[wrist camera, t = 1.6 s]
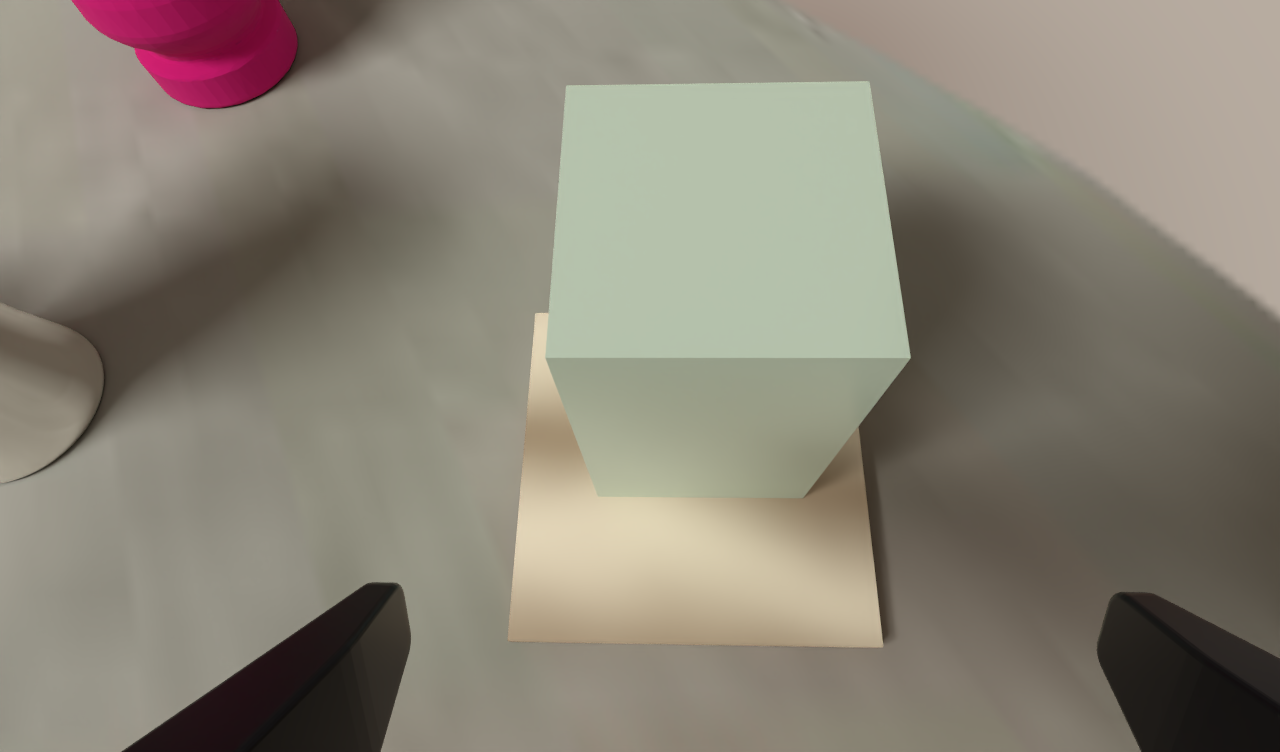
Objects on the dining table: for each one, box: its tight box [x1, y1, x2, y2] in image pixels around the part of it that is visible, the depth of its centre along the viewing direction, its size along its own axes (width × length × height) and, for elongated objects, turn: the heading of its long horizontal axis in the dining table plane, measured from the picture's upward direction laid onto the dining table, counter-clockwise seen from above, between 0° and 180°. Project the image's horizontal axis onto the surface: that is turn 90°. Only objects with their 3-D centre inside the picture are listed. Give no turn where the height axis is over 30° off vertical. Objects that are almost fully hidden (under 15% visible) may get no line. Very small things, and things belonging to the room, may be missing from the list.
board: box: [508, 313, 883, 648], centre depth 23 cm, size 11×11×1 cm
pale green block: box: [545, 81, 911, 498], centre depth 19 cm, size 6×6×11 cm
